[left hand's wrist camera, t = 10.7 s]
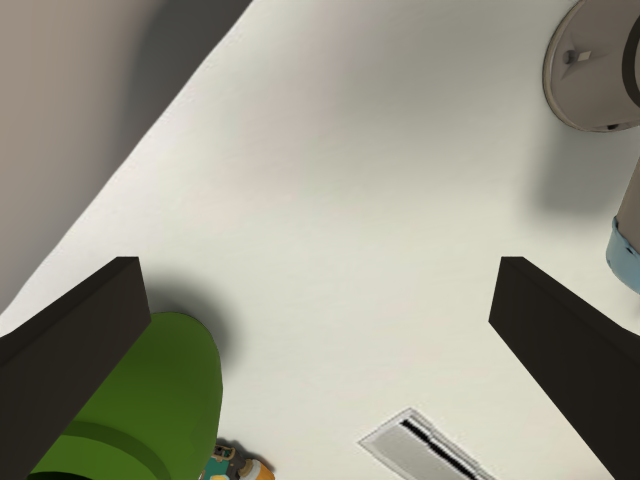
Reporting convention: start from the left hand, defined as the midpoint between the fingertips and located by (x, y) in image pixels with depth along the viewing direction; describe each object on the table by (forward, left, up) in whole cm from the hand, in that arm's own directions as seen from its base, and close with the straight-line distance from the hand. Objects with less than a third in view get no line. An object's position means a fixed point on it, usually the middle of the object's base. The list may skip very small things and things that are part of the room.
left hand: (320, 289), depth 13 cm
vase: (+33, +3, -32) cm, 46 cm away
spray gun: (+51, +28, -32) cm, 66 cm away
